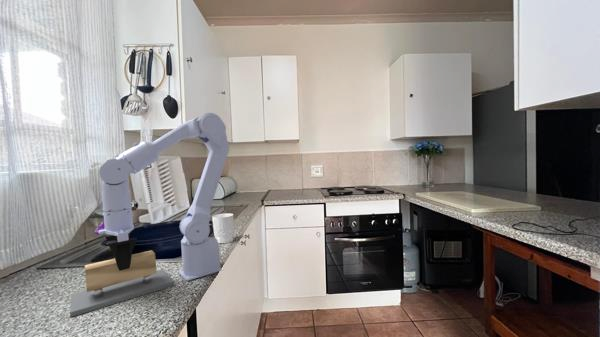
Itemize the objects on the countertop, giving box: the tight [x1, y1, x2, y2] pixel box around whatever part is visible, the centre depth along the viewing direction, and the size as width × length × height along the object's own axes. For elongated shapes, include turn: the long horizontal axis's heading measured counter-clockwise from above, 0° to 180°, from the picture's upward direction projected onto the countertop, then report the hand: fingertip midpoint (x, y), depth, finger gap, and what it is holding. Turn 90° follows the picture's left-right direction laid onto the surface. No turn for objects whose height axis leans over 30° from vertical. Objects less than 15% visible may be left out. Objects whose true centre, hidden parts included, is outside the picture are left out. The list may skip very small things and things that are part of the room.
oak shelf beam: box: [84, 250, 157, 292], centre depth 67 cm, size 4×14×5 cm, turn 129°
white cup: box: [211, 212, 235, 245], centre depth 105 cm, size 8×8×10 cm
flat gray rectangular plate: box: [69, 268, 175, 318], centre depth 67 cm, size 20×11×3 cm, turn 129°
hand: (122, 264), depth 67 cm, fingers open, 7 cm apart
